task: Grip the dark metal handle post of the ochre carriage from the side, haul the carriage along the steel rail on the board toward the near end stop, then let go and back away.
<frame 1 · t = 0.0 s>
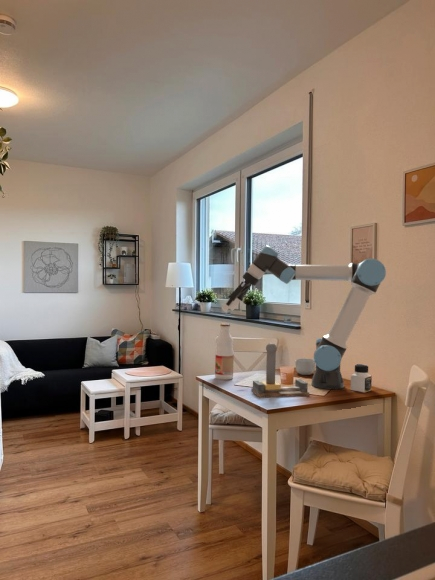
hand: (227, 310, 208), 36 cm above the table, tool tilted 35°, fingers open, 13 cm apart
teacup: (305, 373, 238), on the table
fruit juice: (224, 378, 221), on the table
carriage: (270, 365, 191), point 13 cm above the table, slide at 0.0 cm
medicine bottle: (360, 390, 201), on the table
rail board: (279, 393, 192), on the table
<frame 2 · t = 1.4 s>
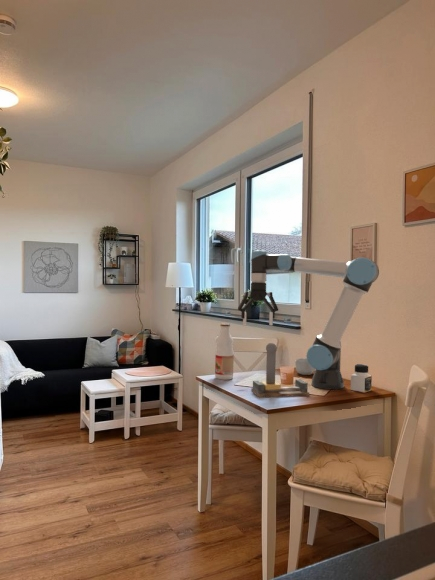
hand: (257, 325, 210), 29 cm above the table, tool pointing down, fingers open, 13 cm apart
nothing on the table moved.
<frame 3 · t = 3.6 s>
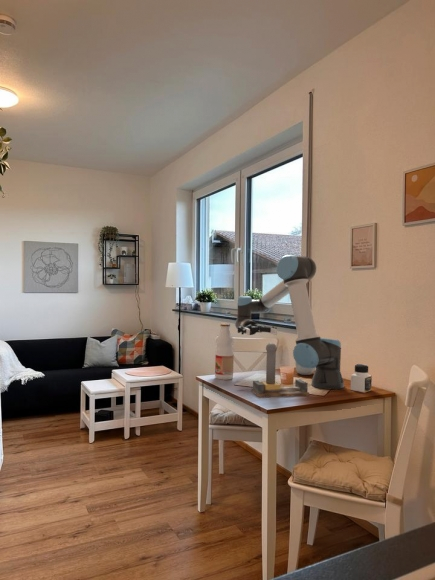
hand: (262, 332, 203), 26 cm above the table, tool horizontal, fingers open, 13 cm apart
nothing on the table moved.
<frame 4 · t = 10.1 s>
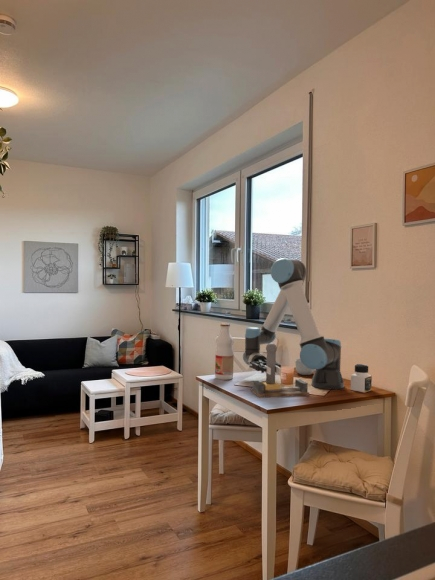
hand: (275, 371, 186), 11 cm above the table, tool horizontal, fingers closed on carriage, 4 cm apart
carriage: (270, 365, 191), point 13 cm above the table, slide at 0.0 cm, touching gripper
everything else where it was.
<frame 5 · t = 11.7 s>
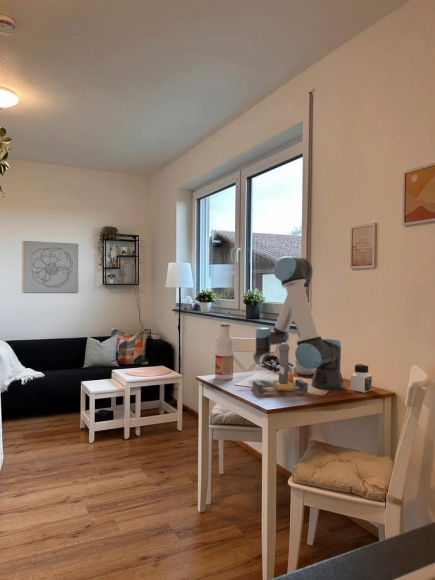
hand: (288, 370, 187), 11 cm above the table, tool horizontal, fingers closed on carriage, 4 cm apart
carriage: (283, 365, 192), point 13 cm above the table, slide at 6.0 cm, touching gripper
everything else where it was.
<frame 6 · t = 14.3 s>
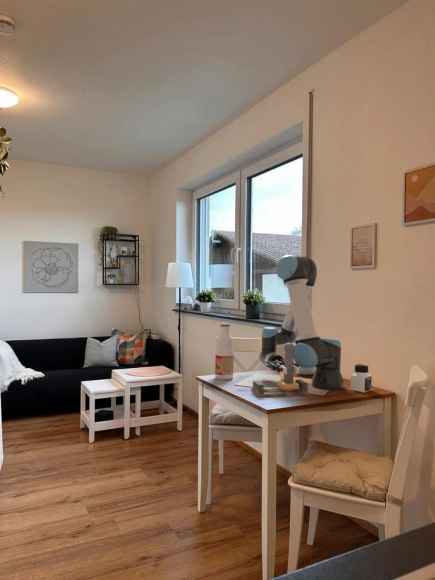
hand: (292, 371, 188), 11 cm above the table, tool horizontal, fingers open, 5 cm apart
carriage: (288, 364, 193), point 13 cm above the table, slide at 8.5 cm
everything else where it was.
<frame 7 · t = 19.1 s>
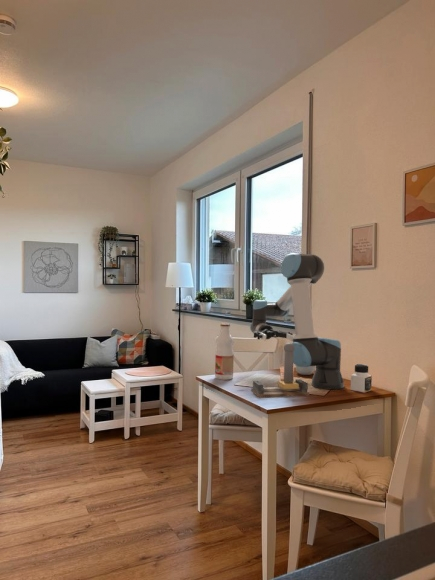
hand: (279, 338, 205), 23 cm above the table, tool horizontal, fingers open, 13 cm apart
nothing on the table moved.
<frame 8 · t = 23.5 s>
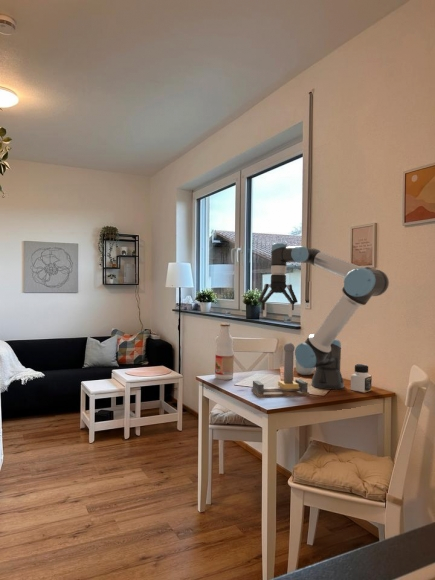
hand: (277, 316, 215), 33 cm above the table, tool pointing down, fingers open, 13 cm apart
nothing on the table moved.
at the end: carriage slide at 8.5 cm; the gripper is holding nothing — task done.
